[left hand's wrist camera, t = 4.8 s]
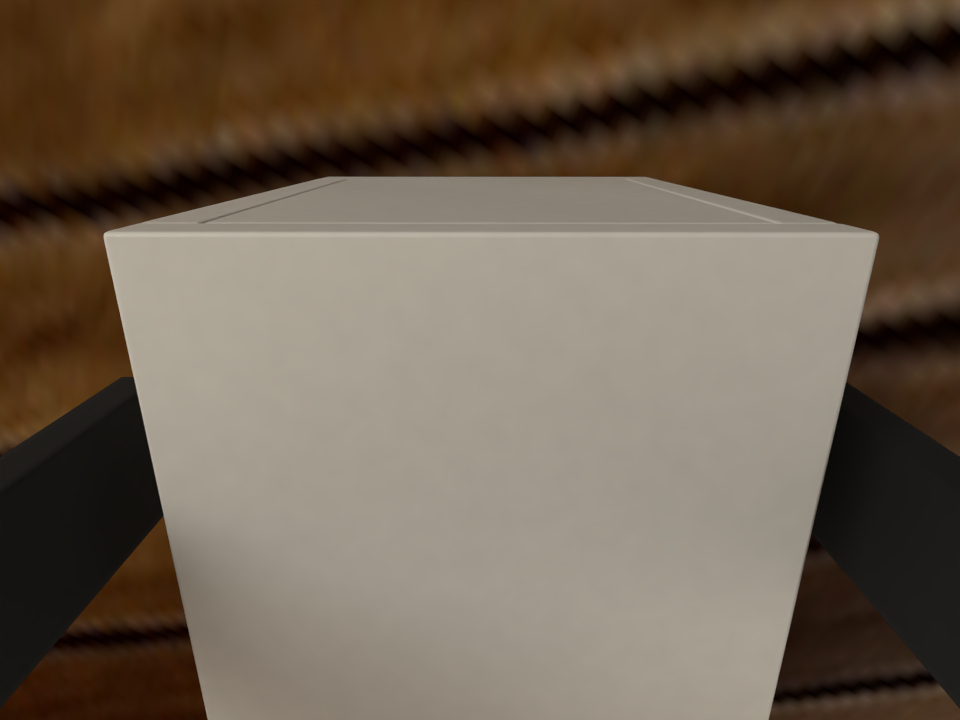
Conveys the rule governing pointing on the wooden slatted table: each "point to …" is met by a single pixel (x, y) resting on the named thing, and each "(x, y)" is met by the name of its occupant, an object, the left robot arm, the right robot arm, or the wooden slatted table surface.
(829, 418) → the cabinet
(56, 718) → the wooden slatted table surface
